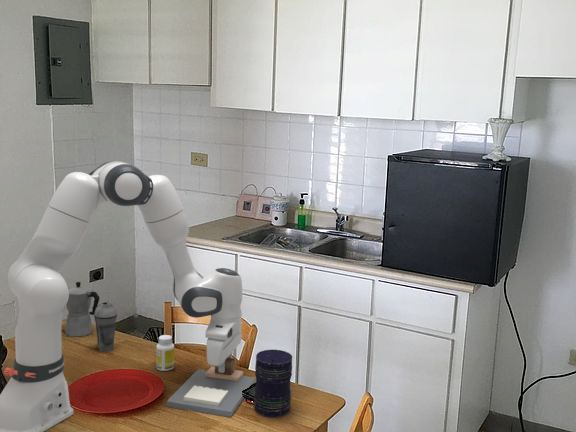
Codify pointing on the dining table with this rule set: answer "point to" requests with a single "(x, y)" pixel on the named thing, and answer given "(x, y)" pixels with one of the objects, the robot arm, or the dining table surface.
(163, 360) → the supplement bottle
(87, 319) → the coffeepot
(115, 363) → the dining table surface
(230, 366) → the brown and pink block
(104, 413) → the dining table surface
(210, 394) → the board
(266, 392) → the storage jar
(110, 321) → the beverage cup
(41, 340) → the robot arm
